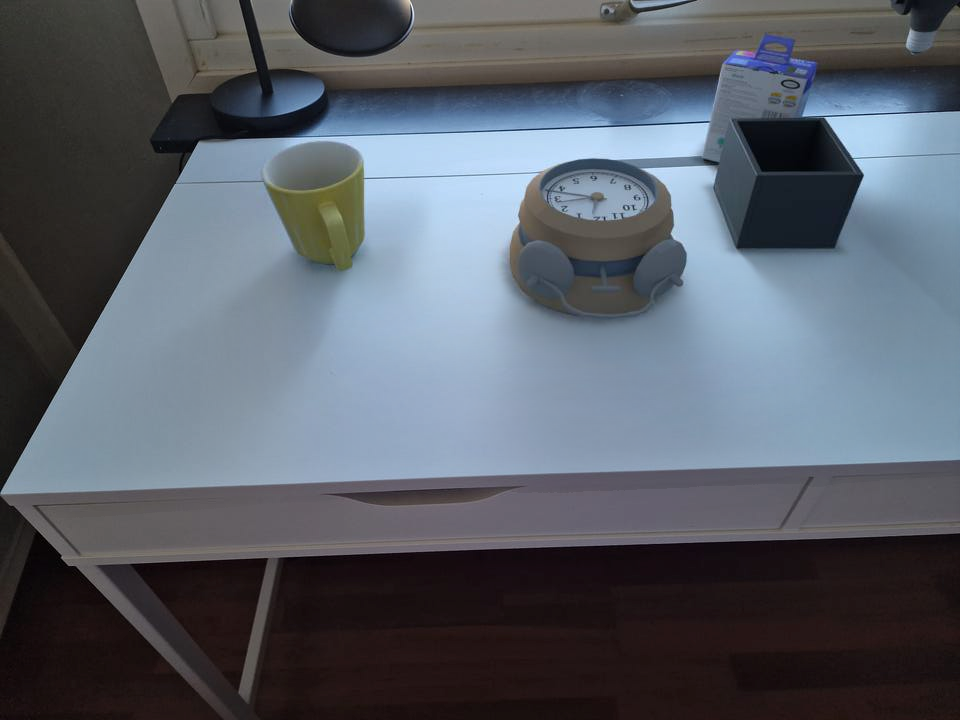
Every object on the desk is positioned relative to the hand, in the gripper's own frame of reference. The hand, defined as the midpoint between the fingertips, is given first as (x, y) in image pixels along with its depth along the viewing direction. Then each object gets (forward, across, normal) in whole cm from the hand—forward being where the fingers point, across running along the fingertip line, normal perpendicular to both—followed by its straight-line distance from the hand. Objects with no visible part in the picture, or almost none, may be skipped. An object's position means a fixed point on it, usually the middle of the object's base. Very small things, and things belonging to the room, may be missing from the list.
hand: (931, 7), depth 72 cm
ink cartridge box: (+18, -15, +2) cm, 24 cm away
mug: (+17, -64, -19) cm, 69 cm away
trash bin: (+18, -15, -11) cm, 26 cm away
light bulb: (+5, 0, 0) cm, 5 cm away
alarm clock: (+18, -36, -23) cm, 46 cm away
